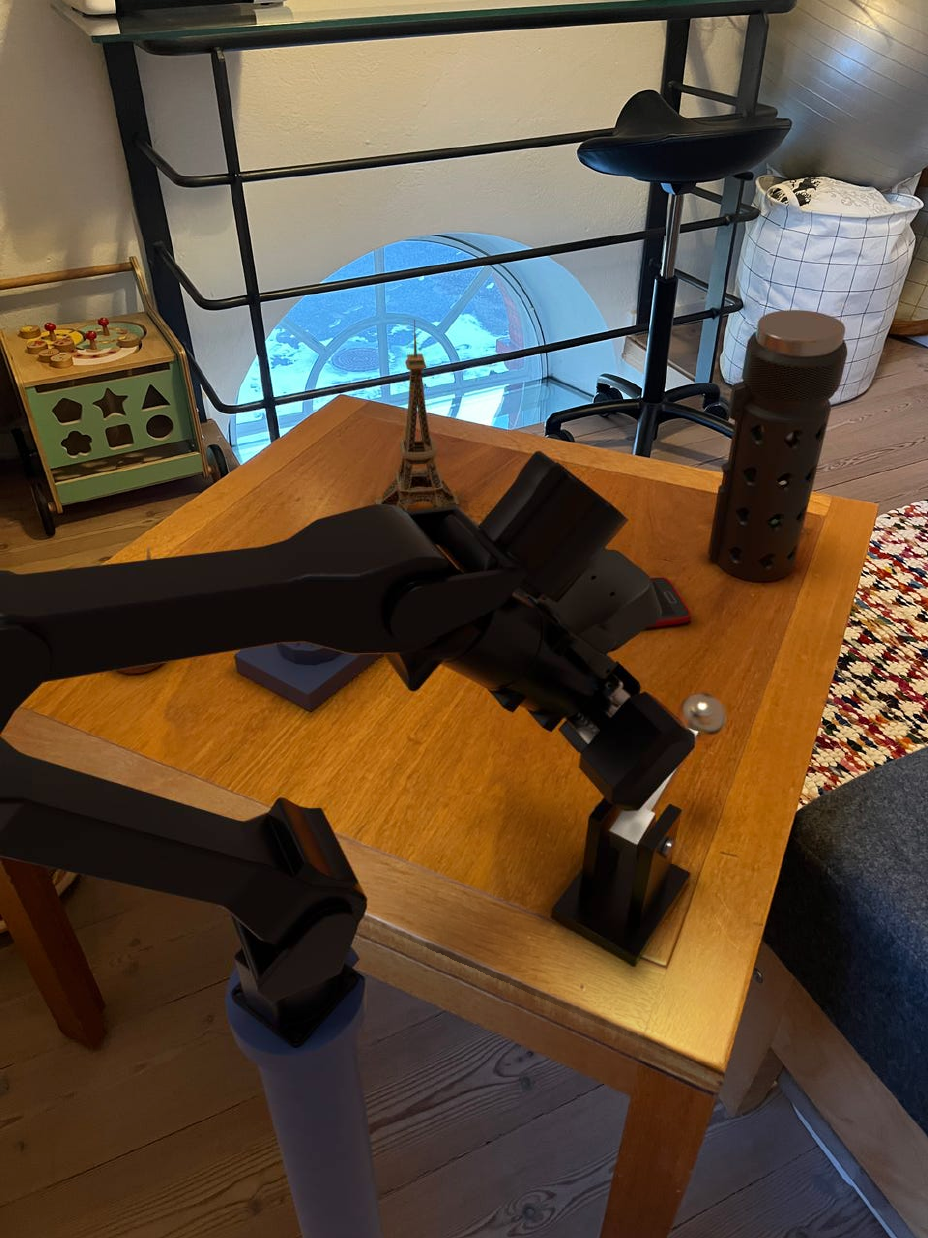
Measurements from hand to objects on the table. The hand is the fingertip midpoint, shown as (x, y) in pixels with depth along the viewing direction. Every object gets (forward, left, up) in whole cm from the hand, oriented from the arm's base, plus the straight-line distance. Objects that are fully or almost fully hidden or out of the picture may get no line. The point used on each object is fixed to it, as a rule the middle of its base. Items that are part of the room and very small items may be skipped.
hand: (632, 719), depth 65 cm
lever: (+2, -3, -6) cm, 7 cm away
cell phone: (+28, +15, -14) cm, 35 cm away
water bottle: (+46, +7, -14) cm, 49 cm away
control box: (+3, +36, -14) cm, 38 cm away
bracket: (-4, -3, -14) cm, 15 cm away
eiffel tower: (+31, +44, -14) cm, 56 cm away
